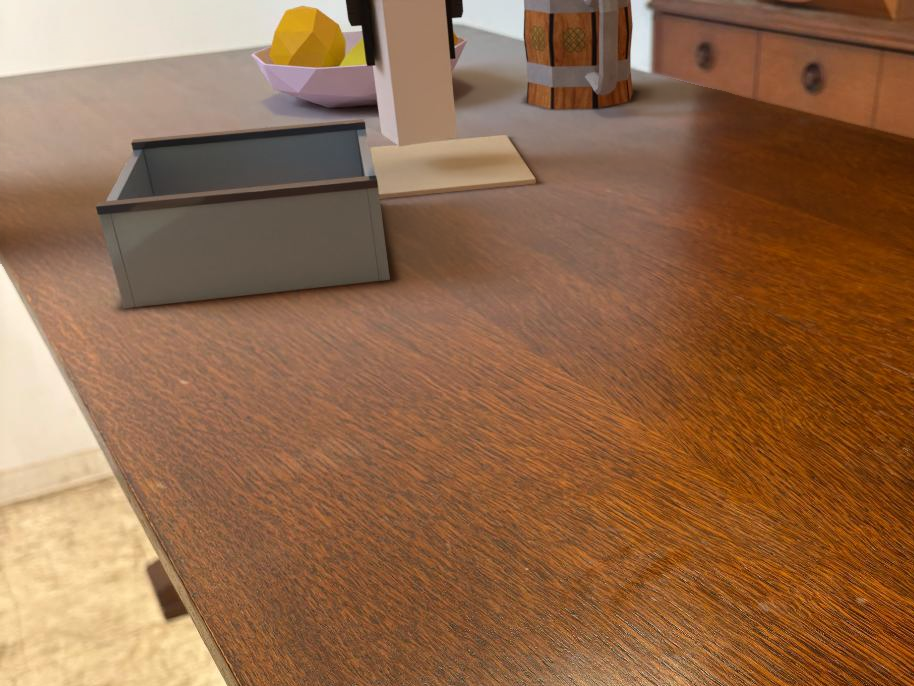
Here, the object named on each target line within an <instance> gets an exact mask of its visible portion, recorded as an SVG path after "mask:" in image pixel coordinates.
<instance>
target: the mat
mask: <svg viewBox="0 0 914 686" xmlns="http://www.w3.org/2000/svg"><path fill="white" fill-rule="evenodd" d="M370 151H371V156H372V161H373V165H374V170H375V175H376V176H377V182H378V190H379V198H380V200H381V199H382V200H383V199H393V198H403V197H404V198H405V197H413V196H423V195H434V194H443V193H453V192H462V191H463V192H464V191H474V190H484V189H494V188H504V187H515V186H516V187H517V186H524V185H525V186H526V185H535V184H537V180H536V177H535V176H534V174H533V173H532V171H531V170H530V168H529V167H528V165H527V163H526V162H525V161H524V159H523V158H522V157H521V155H520V153H519V152H518V151H517V149H516V147H515V146H514V145H513V143H512V142H511V140H510V139H509V137H508V135H507V134H499V135H490V136H478V137H467V138H457V139H456V138H454V139H446V140H439V141H433V142H426V143H420V144H413V145H407V146H398V145H396V144H392V145H391V144H390V145H382V146H370Z"/></svg>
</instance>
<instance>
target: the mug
mask: <svg viewBox="0 0 914 686" xmlns="http://www.w3.org/2000/svg"><path fill="white" fill-rule="evenodd" d="M523 7H524V8H523V9H524V10H523V42H524V51H525V59H526V72H527V73H526V74H527V75H526V76H527V87H526V104H528V105H529V104H530V105H533V106H537V107H541V108H544V109H549V110H596V109H602V108H605V107H610V106H615V105H621V104H624V103H628V102H629V103H630V101H631V98H632V96H633V93H634V90H633V81H632V72H631V71H632V69H631V64H632V63H631V59H632V57H631V56H632V55H631V52H632V38H633V29H634V28H633V25H634V23H633V12H632V1H631V0H523Z"/></svg>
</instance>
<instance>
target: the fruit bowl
mask: <svg viewBox="0 0 914 686" xmlns="http://www.w3.org/2000/svg"><path fill="white" fill-rule="evenodd" d="M453 33H454V45H455V57H456V59H450V63H451V74H453V72H454V70H455V68H456V66H457V64H458V62H459V59H460V57H461V55H462V53H463V50H464V49H465V47H466V44H467V43H468V39H466V38H464V37H461V36H459V35H457V34H456V32H455V31H454V29H453ZM271 41H272V42H271V45H269V46H267V47H265V48H263V49H260V50H258V51H256V52H253V53H251V54H250V55H251V57H252V59H253V60H254V61H255V63H256V65H257V66H258V68H259V69H260V71H261V72H262V74H263V76H264V77H265V78H266V80H267V81H268V83H269V85H270V86H271V88H272V89H273V90H274V91H277V92H281V93H283V94H286V95H289V96H292V97H295V98H299V99H301V100H304V101H306V102H310V103H313V104H316V105H319V106H322V107H324V108H328V109H333V108H335V109H336V108H351V107H365V106H378V103H377V95H376V87H375V78H374V70H373V66H367V63H366V58H365V50H364V42H363V35H362V30H359V31H344V32H343V31H342V29H341V27H340V24H339V23H337V22H336V21H335V20H333V19H332V18H330V17H329V16H328V15H326V14H325V13H324V12H322V11H321V10H320V9H319V8H316V7H311V6H306V5H300V6H296V7H293V8H290V9H289V8H288V9H287V10H285V11H284V13H283V15H282V17H281V19H280V21H279V23H278V25H277V27H276V29H275V31H274V33H273V37H272V40H271Z"/></svg>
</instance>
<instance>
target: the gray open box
mask: <svg viewBox="0 0 914 686" xmlns="http://www.w3.org/2000/svg"><path fill="white" fill-rule="evenodd" d="M130 144H131V148H132V151H131V153H130V155H129V157H128V159H127V160H126V162H125V165H124V166H123V168H122V169H121V172H120V173H119V176H118V178H117V180H116V181H115V183H114V185H113V187H112V189H111V190H110V192H109V195H108V197H107V199H106V200H105V201H98V202H97V204H96V206H95V209H96V213H97V215H98V218H99V221H100V224H101V228H102V232H103V236H104V240H105V243H106V246H107V250H108V251H107V252H108V254H109V257H110V258H109V259H110V262H111V264H112V269H113V272H114V276H115V280H116V284H117V288H118V291H119V295H120V298H121V302H122V306H123V308H124V309H131V308H139V307H141V308H142V307H149V306H158V305H159V306H160V305H166V304H167V305H169V304H175V303H176V304H177V303H186V302H187V303H188V302H196V301H204V300H205V301H206V300H214V299H223V298H233V297H242V296H251V295H261V294H270V293H278V292H280V293H281V292H287V291H289V292H290V291H299V290H307V289H317V288H324V287H334V286H344V285H352V284H363V283H372V282H379V281H380V282H381V281H382V282H383V281H389V280H391V276H390V270H389V259H388V253H387V247H386V245H387V244H386V238H385V230H384V221H383V214H382V207H381V201H380V200H381V199H380V198H379V190H378V182H377V176H376V175H375V170H374V165H373V161H372V156H371V151H370V147H371V146H370V141H369V137H368V133H367V126H366V120H365V119H364V118H359V119H350V120H349V119H348V120H338V121H326V122H315V123H306V124H305V123H303V124H295V125H294V124H293V125H292V124H291V125H282V126H281V125H280V126H270V127H257V128H248V129H237V130H235V129H234V130H225V131H224V130H223V131H214V132H202V133H191V134H180V135H179V134H178V135H170V136H169V135H167V136H158V137H147V138H135V139H132V140H131V143H130Z"/></svg>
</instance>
